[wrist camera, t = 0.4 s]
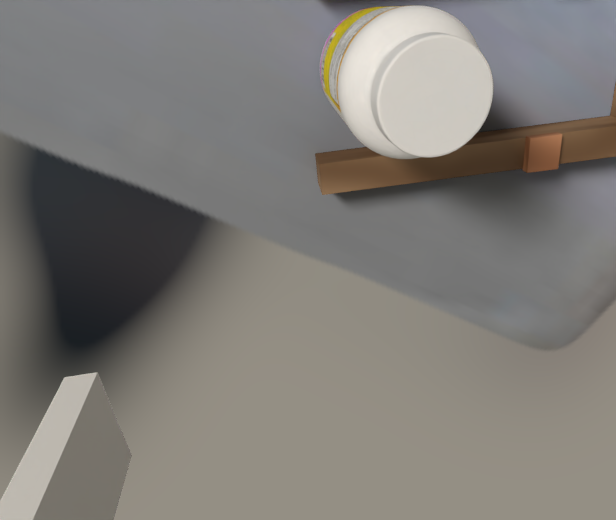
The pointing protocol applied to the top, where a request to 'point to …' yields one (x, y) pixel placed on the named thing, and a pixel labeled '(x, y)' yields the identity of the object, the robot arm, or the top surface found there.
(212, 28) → the top surface
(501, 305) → the top surface
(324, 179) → the wooden frame
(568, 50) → the top surface
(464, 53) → the supplement bottle
